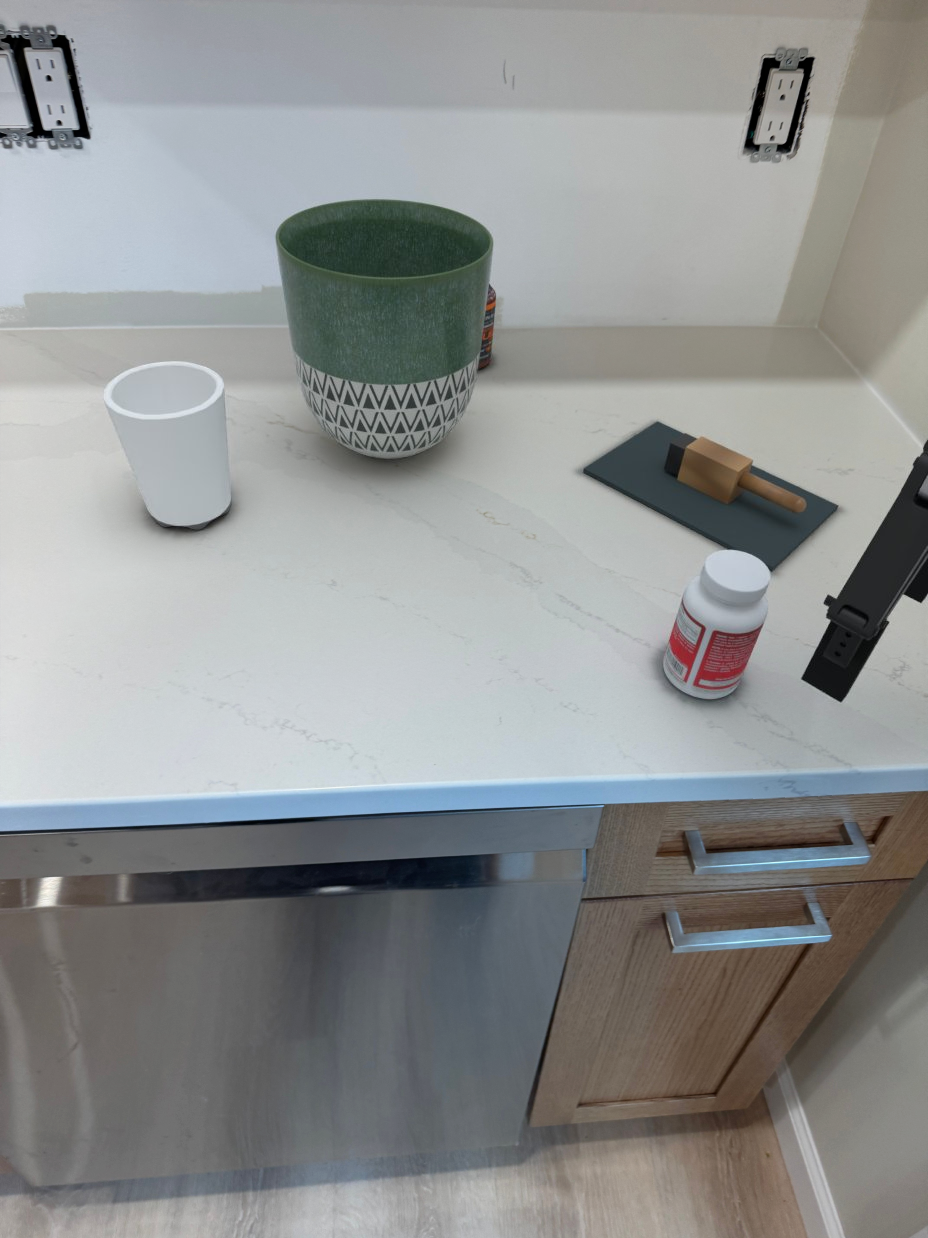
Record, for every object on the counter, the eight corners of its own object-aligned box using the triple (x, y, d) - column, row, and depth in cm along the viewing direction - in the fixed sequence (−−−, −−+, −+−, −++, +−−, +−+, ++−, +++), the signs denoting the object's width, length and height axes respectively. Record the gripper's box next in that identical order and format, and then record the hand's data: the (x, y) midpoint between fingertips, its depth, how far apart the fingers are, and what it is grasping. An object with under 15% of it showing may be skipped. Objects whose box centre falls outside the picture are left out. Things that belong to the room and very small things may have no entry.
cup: (147, 551, 74) (111, 427, 65) (128, 491, 80) (94, 370, 71) (256, 526, 77) (237, 405, 68) (230, 470, 83) (209, 352, 74)
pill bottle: (749, 668, 67) (794, 565, 59) (720, 714, 63) (763, 611, 56) (680, 634, 69) (714, 531, 62) (648, 677, 66) (680, 573, 58)
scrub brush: (803, 522, 81) (817, 489, 78) (789, 536, 79) (803, 502, 76) (677, 461, 88) (686, 428, 85) (662, 472, 86) (670, 439, 83)
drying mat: (837, 509, 84) (838, 505, 83) (771, 571, 76) (773, 567, 76) (656, 424, 94) (657, 420, 94) (582, 471, 86) (583, 467, 86)
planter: (301, 395, 95) (282, 196, 80) (469, 395, 96) (481, 200, 82) (291, 495, 81) (266, 276, 66) (487, 493, 83) (506, 280, 68)
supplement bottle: (479, 376, 100) (485, 283, 92) (435, 364, 102) (437, 272, 94) (498, 356, 104) (506, 265, 96) (456, 345, 106) (460, 255, 98)
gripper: (1037, 243, 48) (886, 532, 63) (861, 379, 35) (723, 704, 50) (1182, 284, 45) (985, 579, 60) (1049, 452, 31) (839, 777, 46)
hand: (866, 636), depth 55 cm, fingers open, 12 cm apart
